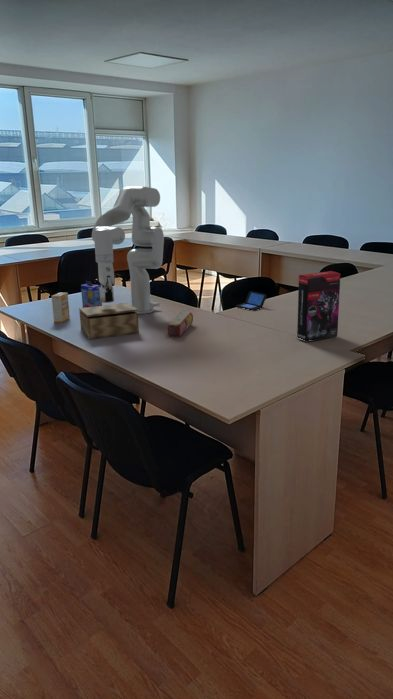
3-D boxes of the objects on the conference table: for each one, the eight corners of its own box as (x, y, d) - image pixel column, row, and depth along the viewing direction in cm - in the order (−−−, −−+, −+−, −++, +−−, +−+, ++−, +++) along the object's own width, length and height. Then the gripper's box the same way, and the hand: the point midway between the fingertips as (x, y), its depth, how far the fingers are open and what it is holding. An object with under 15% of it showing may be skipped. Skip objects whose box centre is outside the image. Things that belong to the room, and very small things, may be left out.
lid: (126, 304, 242) (126, 303, 242) (137, 311, 227) (137, 309, 227) (79, 310, 234) (79, 308, 234) (87, 316, 219) (87, 314, 219)
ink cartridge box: (81, 307, 276) (79, 280, 272) (89, 305, 281) (87, 278, 276) (95, 310, 271) (92, 282, 266) (102, 308, 275) (100, 280, 270)
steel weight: (112, 299, 233) (111, 285, 231) (115, 301, 228) (114, 288, 226) (98, 300, 231) (97, 287, 229) (102, 303, 225) (101, 289, 223)
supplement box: (63, 323, 248) (60, 295, 244) (53, 322, 249) (50, 295, 244) (70, 318, 255) (68, 292, 251) (61, 318, 256) (58, 291, 252)
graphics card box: (305, 343, 213) (309, 277, 204) (294, 339, 219) (298, 274, 210) (337, 337, 220) (342, 272, 212) (326, 333, 226) (331, 270, 218)
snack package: (181, 338, 222) (180, 323, 220) (166, 337, 224) (165, 322, 222) (193, 325, 242) (193, 310, 240) (179, 324, 243) (179, 310, 241)
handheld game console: (235, 307, 273) (235, 293, 271) (249, 304, 280) (249, 290, 278) (252, 311, 264) (253, 297, 262) (267, 308, 271) (267, 294, 269)
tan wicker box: (127, 323, 245) (126, 305, 242) (138, 332, 230) (137, 313, 228) (81, 329, 237) (79, 310, 234) (89, 339, 222) (87, 319, 219)
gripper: (118, 260, 217) (121, 302, 223) (108, 255, 232) (110, 295, 238) (100, 261, 214) (103, 304, 220) (91, 256, 229) (94, 296, 235)
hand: (107, 299), depth 229 cm, fingers closed on steel weight, 6 cm apart
